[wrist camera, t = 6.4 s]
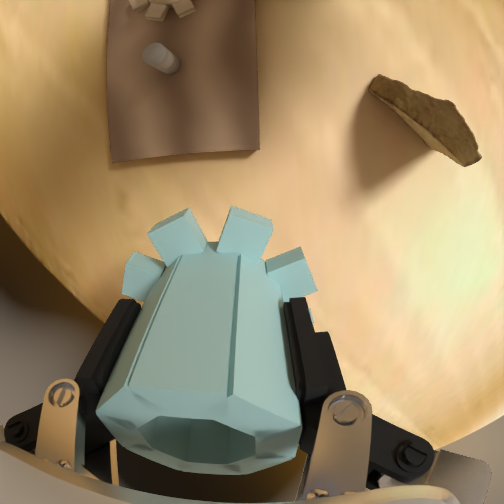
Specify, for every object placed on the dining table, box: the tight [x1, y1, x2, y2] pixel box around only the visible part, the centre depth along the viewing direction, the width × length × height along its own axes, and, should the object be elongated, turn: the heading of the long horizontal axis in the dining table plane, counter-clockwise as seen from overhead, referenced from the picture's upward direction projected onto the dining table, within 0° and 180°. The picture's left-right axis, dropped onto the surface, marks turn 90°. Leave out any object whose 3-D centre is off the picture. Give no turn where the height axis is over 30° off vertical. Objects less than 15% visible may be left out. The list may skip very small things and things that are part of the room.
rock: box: [369, 74, 482, 167], centre depth 20 cm, size 11×9×10 cm
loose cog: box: [96, 206, 317, 475], centre depth 9 cm, size 8×8×7 cm
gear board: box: [107, 0, 260, 163], centre depth 17 cm, size 14×25×7 cm, turn 2°
